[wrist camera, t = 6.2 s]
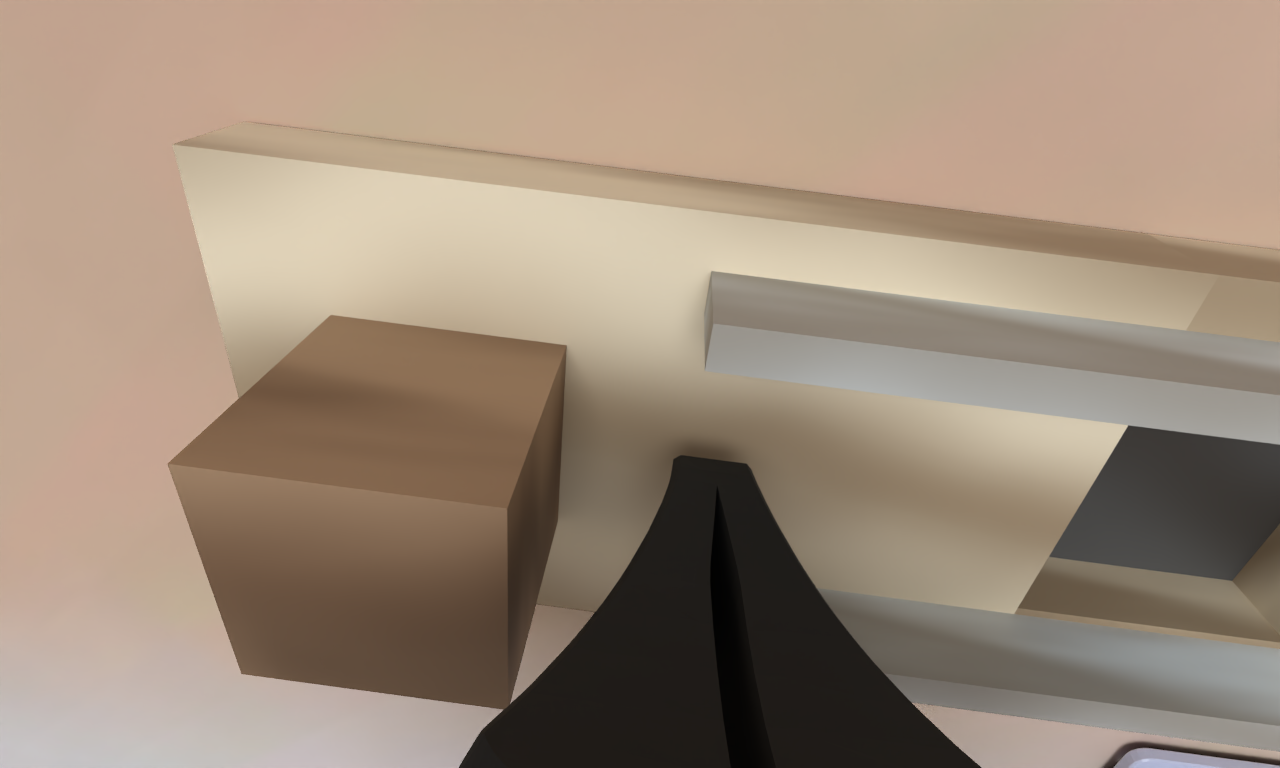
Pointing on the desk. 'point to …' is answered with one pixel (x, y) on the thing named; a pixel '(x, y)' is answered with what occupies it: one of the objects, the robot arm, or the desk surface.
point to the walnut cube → (383, 509)
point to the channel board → (839, 399)
